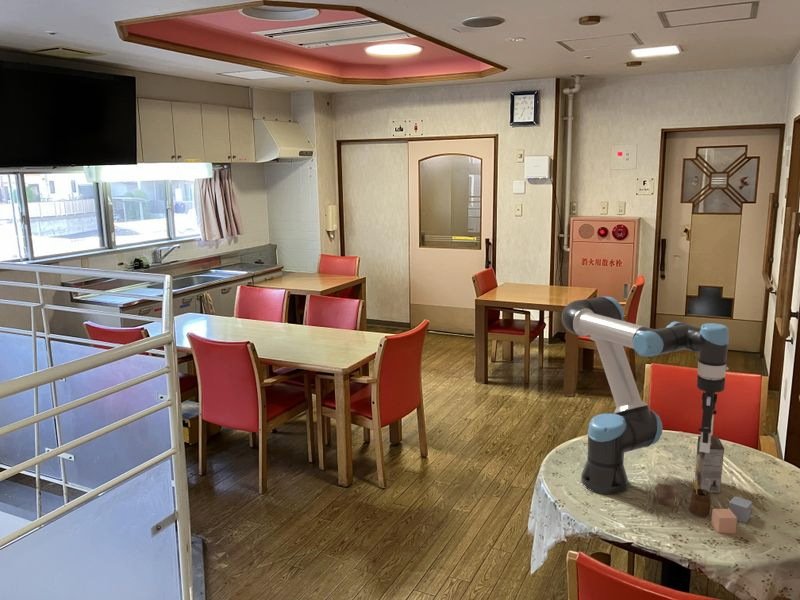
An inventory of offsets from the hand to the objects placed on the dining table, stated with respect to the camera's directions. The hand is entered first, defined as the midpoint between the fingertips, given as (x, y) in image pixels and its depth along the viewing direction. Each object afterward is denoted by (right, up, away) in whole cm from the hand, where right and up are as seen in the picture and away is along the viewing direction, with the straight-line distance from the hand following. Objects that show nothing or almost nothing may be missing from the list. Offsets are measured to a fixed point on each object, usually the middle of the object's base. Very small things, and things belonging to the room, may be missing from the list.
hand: (706, 442), depth 199 cm
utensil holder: (0, -23, +5) cm, 24 cm away
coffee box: (+10, -19, +21) cm, 30 cm away
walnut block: (-7, -22, +12) cm, 26 cm away
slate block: (+12, -23, +3) cm, 26 cm away
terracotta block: (+4, -25, -3) cm, 25 cm away
